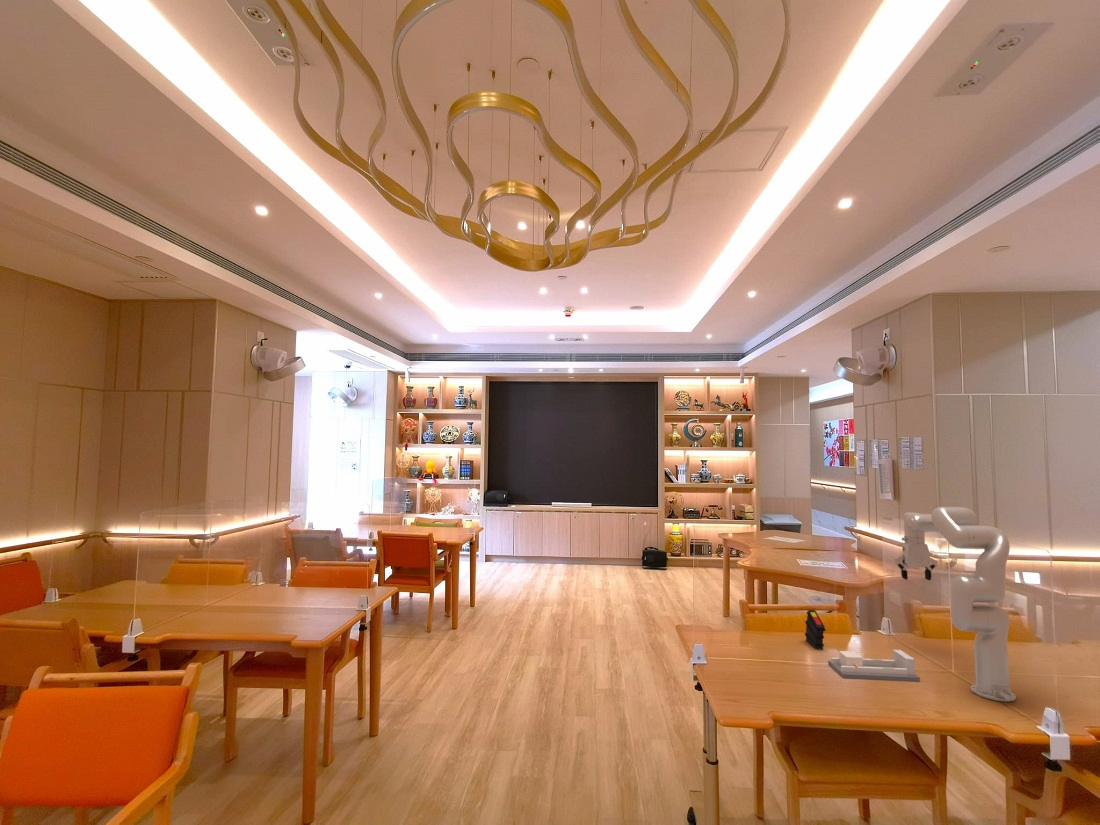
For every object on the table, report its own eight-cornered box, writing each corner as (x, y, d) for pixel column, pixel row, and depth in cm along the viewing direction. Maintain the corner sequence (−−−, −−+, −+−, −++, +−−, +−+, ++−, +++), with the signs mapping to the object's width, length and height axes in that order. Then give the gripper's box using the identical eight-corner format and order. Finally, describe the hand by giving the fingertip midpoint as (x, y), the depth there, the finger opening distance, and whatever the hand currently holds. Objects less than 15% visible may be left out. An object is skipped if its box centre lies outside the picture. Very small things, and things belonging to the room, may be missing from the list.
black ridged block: (810, 635, 256) (815, 609, 250) (822, 657, 243) (827, 630, 238) (802, 634, 256) (807, 609, 250) (813, 656, 244) (819, 630, 238)
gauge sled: (865, 673, 211) (865, 659, 212) (849, 672, 212) (849, 659, 212) (852, 662, 222) (852, 649, 223) (837, 661, 223) (836, 649, 223)
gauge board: (919, 681, 208) (919, 661, 208) (843, 678, 211) (842, 658, 211) (900, 667, 222) (899, 648, 222) (828, 664, 224) (827, 645, 225)
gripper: (898, 541, 242) (900, 580, 241) (940, 542, 240) (942, 581, 239) (890, 538, 249) (891, 576, 248) (930, 539, 248) (932, 577, 246)
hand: (916, 579), depth 244 cm, fingers open, 9 cm apart
